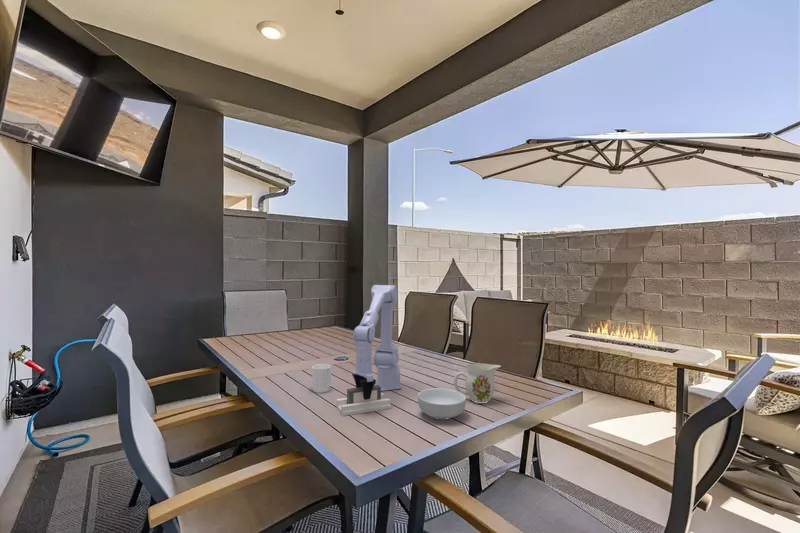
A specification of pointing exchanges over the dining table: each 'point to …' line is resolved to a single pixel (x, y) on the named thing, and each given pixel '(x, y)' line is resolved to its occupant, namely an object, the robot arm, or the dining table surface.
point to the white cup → (321, 377)
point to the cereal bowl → (441, 402)
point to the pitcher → (478, 381)
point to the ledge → (362, 406)
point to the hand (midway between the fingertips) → (363, 395)
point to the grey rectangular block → (357, 395)
